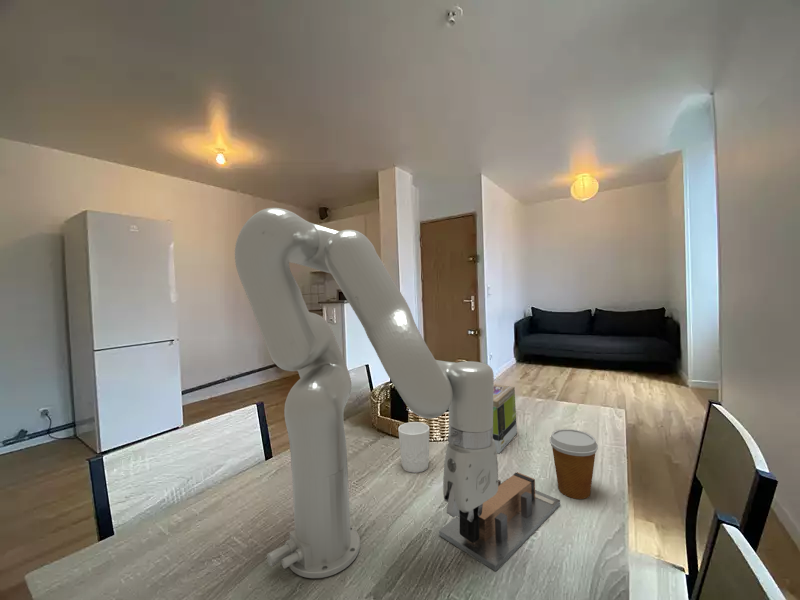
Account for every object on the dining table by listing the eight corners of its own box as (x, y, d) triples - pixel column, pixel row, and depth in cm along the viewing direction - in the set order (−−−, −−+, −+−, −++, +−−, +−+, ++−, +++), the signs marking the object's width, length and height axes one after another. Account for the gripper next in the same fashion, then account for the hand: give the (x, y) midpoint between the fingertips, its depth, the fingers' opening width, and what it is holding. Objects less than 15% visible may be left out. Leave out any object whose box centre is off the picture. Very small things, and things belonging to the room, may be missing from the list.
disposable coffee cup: (597, 509, 72) (596, 450, 72) (546, 496, 77) (545, 441, 77) (600, 485, 80) (599, 432, 80) (554, 475, 85) (553, 425, 85)
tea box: (486, 427, 114) (484, 381, 114) (517, 434, 108) (516, 386, 108) (465, 446, 102) (463, 394, 101) (499, 455, 96) (498, 400, 96)
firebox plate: (495, 571, 58) (495, 541, 57) (439, 535, 66) (438, 509, 66) (560, 504, 74) (559, 481, 74) (507, 482, 83) (507, 461, 83)
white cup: (428, 475, 87) (427, 435, 87) (397, 473, 89) (395, 433, 89) (432, 459, 95) (431, 422, 95) (403, 457, 97) (401, 421, 96)
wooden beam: (485, 542, 63) (484, 519, 63) (466, 530, 66) (465, 509, 66) (535, 497, 75) (535, 478, 75) (517, 490, 78) (517, 471, 78)
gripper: (458, 455, 55) (457, 572, 55) (513, 429, 64) (512, 529, 65) (424, 439, 60) (423, 545, 61) (479, 417, 70) (478, 509, 71)
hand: (469, 536), depth 63 cm, fingers closed
